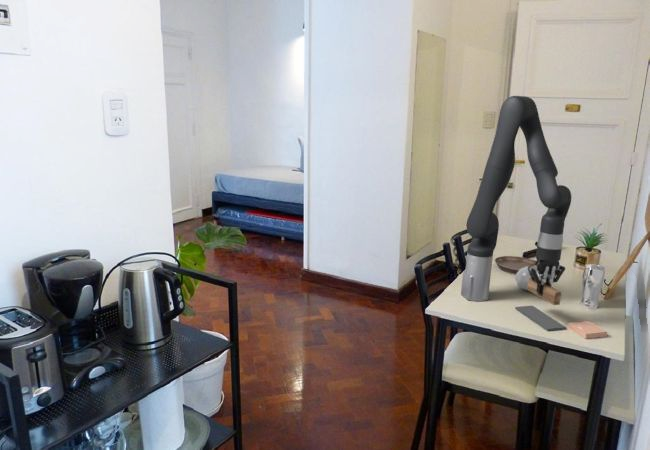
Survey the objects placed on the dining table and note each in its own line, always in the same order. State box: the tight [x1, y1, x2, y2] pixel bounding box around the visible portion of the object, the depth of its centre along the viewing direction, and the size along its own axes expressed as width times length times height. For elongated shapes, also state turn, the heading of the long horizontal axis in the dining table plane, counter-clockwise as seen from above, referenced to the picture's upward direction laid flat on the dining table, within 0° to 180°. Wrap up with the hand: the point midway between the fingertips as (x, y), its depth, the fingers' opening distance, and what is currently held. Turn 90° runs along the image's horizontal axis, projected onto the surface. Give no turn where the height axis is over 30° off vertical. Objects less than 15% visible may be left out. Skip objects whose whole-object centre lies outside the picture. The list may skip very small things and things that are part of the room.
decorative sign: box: [521, 240, 538, 259], centre depth 246 cm, size 27×2×10 cm, turn 127°
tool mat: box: [514, 305, 567, 332], centre depth 172 cm, size 7×18×1 cm, turn 13°
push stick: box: [527, 278, 562, 306], centre depth 170 cm, size 2×14×4 cm, turn 13°
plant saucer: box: [494, 255, 538, 275], centre depth 223 cm, size 21×21×3 cm
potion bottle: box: [514, 266, 553, 292], centre depth 196 cm, size 9×10×15 cm
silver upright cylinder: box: [579, 263, 606, 310], centre depth 183 cm, size 7×7×15 cm
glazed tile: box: [567, 320, 608, 340], centre depth 163 cm, size 8×2×8 cm
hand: (543, 293), depth 170 cm, fingers closed on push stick, 2 cm apart
